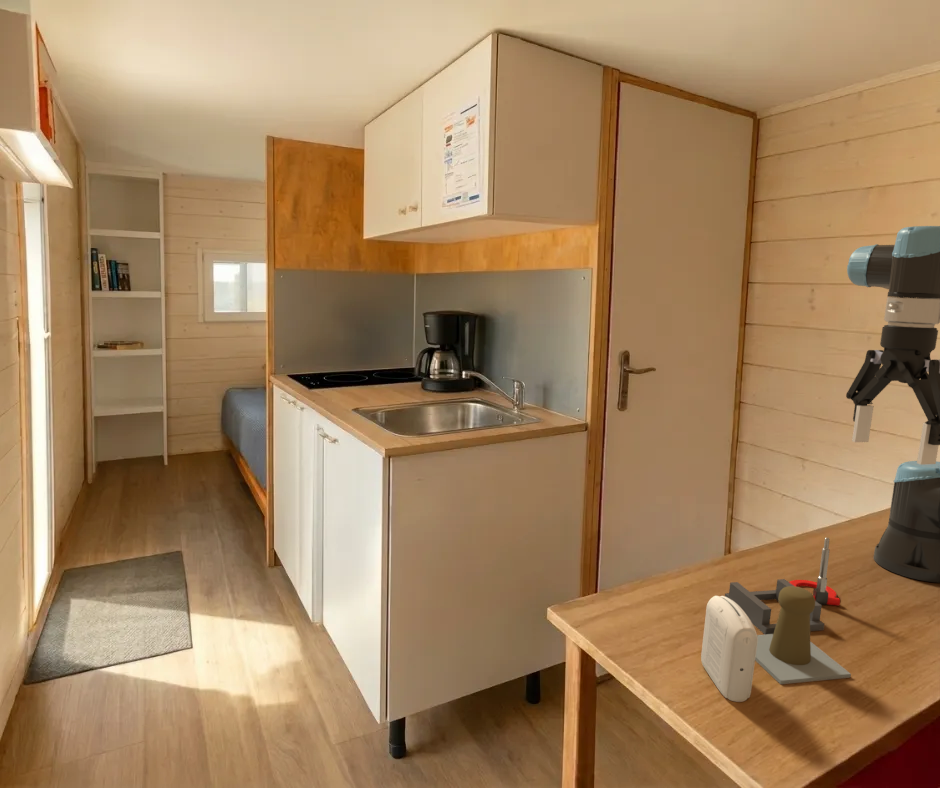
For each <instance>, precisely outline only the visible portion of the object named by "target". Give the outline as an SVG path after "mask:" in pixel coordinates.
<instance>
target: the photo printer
mask: <svg viewBox="0 0 940 788" xmlns="http://www.w3.org/2000/svg"><path fill="white" fill-rule="evenodd" d="M705 609H706V610H705V618H704V619H705V620H704V626H703V628H704V629H703V635H702V636H703V637H702V647H701V653H700V654H701V655H700V660H701V664H702V667H704V669H705V671H706V672H707V673H706V674H708V675H709V677H710V679H711V680H712V682H713V684H714V685H715V687H716V688H717V689H718V690H719V692H720V694H721V695H722V696H723V697H724V698H725V699H728V700H729V701H732V702H737V703H741V702H745V701H747V700H748V699H749V698H751V694H752V687H753V679H754V671H755V664H756V661H755V657H756V649H757V641H758V637H757V635H758V634H757V631H756V628H755V625H753V624H752V622H751V620H750V619H749V617H748V616H747V615H746V613H745V612H744V611H743V610H742V608H741V607H740V606H739V605H738V604H736V603H735V602H734V601H733V600H731V599H729V598H727V597H725V595H721V596H719V595H714V596H712V597H711V598H710V599H709V600H708V602H707V604H706V607H705Z"/></svg>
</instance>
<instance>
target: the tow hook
mask: <svg viewBox="0 0 940 788" xmlns="http://www.w3.org/2000/svg"><path fill="white" fill-rule="evenodd" d="M829 546H830V537H825V538H824V544H823V547H822V550H821V556H820V557H821V558H820V565H819V566H820V567H819V574H818V576H817V579H816V580H817V581H813V580H808V579H793V580H790V581H788V582H789V583H791V584H792V585H794V586H795V587H809V588H813V591H812V592H813V593H812V595H813V596H814V598H815V601H816V602H818V603H819V604H821V605H823V606H824V605H825V606H827V605H829V606H838V607H839V606H840V605H841V599H840V598H839V597H837V595H838V594H837V592H836V591H835V590H834V589H833V588H831V587H830V586H828V585H827V584H828V578H827V575H828V565H829V557H830V548H829Z"/></svg>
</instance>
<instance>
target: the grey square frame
mask: <svg viewBox="0 0 940 788" xmlns="http://www.w3.org/2000/svg"><path fill="white" fill-rule="evenodd" d="M789 582H790V581H788V580H787V579H785V578H781V579H780V578H779V579H777V580H776V588H775V589H772V590H757V591H749V590H748V589H747V588H746V587H744V586H743V585H742V584H741V583H739V582H738V581H736V582H733V581H732V582H730V583H729V590H728V593H727V592H726V593H724V596H725V597H727V598H729V599H731V600H733V601H734V602H735V603H736V604H738V605H739V606H740V607H741V608H742V610H743V611H744V612H745V613H746V615H747V616H748V617H749V619H750V620H751V622H752V624H753V626H754V627H756V629H758V630H759V631H760V632H761V633H763V635H765V634H774V630H775V627H776V623H771V615H772V608H771V607H770V606H768V605H767V604H766V603H764V600H766V601H767V600H775V601H777V602H778V603H779V600H778V597H779V593H780V591H781V590H782V589H783V588H784V587H788V586H794V585H792V584H791V583H789ZM822 607H823V606H822V604H819V603H818V602H816V601H815V608H814V610H813V612H811V613H810V632H815V631H824V630H825V623H824V622H823V621H822V620H821V613H822Z"/></svg>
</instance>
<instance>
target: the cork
mask: <svg viewBox="0 0 940 788" xmlns="http://www.w3.org/2000/svg"><path fill="white" fill-rule="evenodd" d="M778 600H779V602H778V604H779V606H780V611H779V613H778V617H777V620H776V623H775V624H776V627H775V630H774V634H773V637H772V641H771V644H770V648H769V651H770V653H771V654H772V655H773V656H774V657H776V658H777V659H779V660H781V661H783V662H786V663H789V664H794V665H805V664H808V663H809V662H810V661H811V647H810V641H811V631H810V613H811V612H813V610H814V608H815V598H814V596H813V593H812V592H810V591H809V590H808V589H806V588H803V587H801V586H799V587H795V586H788V587H784V588H783V589H782V590H781V591H780V593H779V597H778Z"/></svg>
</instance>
